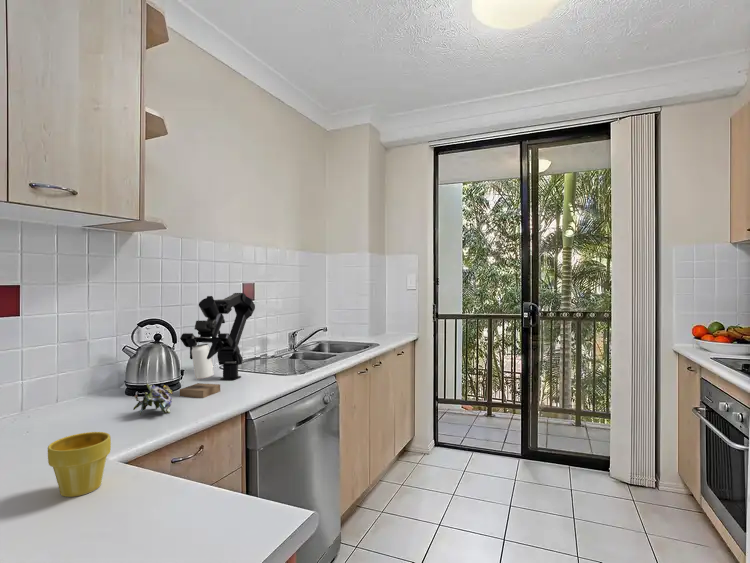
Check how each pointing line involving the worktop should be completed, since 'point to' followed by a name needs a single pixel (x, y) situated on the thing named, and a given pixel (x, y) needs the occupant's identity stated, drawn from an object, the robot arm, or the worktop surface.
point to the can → (202, 361)
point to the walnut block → (200, 390)
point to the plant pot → (79, 462)
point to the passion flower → (156, 398)
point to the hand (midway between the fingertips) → (199, 358)
